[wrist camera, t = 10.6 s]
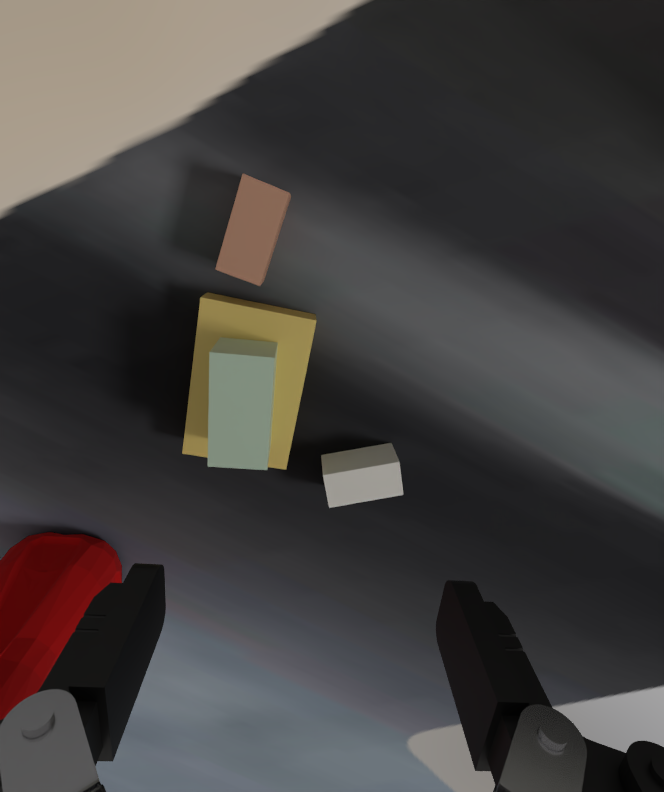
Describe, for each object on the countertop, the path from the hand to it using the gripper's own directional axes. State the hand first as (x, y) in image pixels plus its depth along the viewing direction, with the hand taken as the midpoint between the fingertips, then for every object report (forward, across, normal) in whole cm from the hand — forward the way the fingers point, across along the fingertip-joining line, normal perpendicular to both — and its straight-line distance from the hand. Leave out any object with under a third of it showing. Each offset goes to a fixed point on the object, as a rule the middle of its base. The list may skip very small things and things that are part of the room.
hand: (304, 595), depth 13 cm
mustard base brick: (+24, +5, +2) cm, 25 cm away
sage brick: (+21, +4, +2) cm, 22 cm away
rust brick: (+24, +4, -9) cm, 26 cm away
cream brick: (+24, -5, +9) cm, 26 cm away
